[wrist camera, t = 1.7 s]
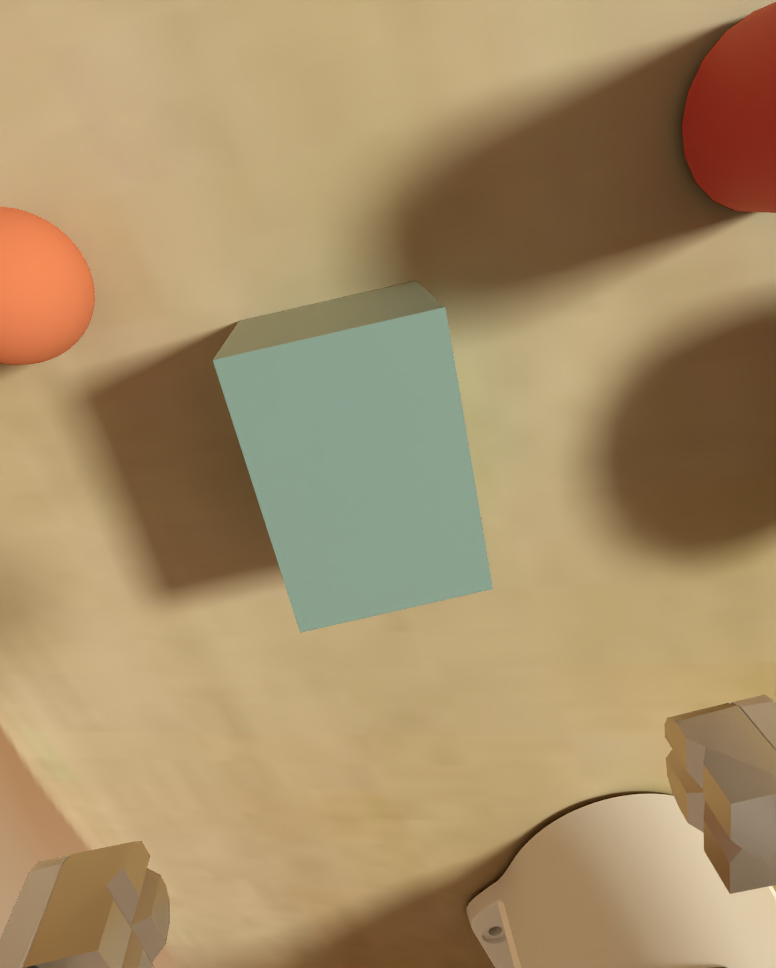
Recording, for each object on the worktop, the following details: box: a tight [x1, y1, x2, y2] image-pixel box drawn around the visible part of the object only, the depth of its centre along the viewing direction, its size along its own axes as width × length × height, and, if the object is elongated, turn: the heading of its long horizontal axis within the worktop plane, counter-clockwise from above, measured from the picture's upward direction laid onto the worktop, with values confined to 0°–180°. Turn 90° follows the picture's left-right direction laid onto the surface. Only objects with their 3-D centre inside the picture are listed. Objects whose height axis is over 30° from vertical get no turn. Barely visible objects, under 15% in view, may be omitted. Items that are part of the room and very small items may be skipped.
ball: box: [0, 207, 95, 365], centre depth 22 cm, size 5×5×5 cm
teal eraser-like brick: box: [213, 281, 493, 633], centre depth 25 cm, size 10×7×7 cm
